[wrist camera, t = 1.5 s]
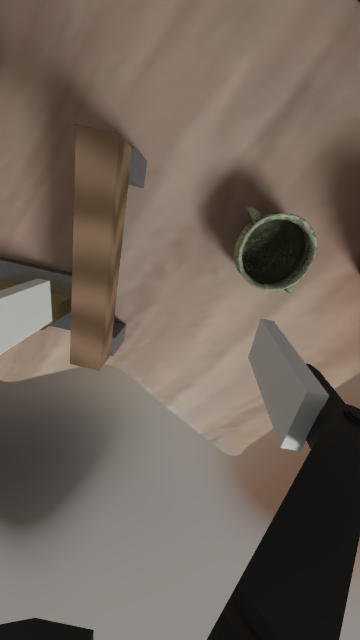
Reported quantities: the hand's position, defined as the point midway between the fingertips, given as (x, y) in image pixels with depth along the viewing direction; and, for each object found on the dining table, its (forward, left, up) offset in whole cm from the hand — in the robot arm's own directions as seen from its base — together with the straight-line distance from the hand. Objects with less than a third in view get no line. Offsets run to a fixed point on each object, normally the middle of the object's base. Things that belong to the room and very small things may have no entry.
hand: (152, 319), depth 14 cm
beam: (+1, -9, -16) cm, 18 cm away
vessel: (-5, +11, -21) cm, 24 cm away
